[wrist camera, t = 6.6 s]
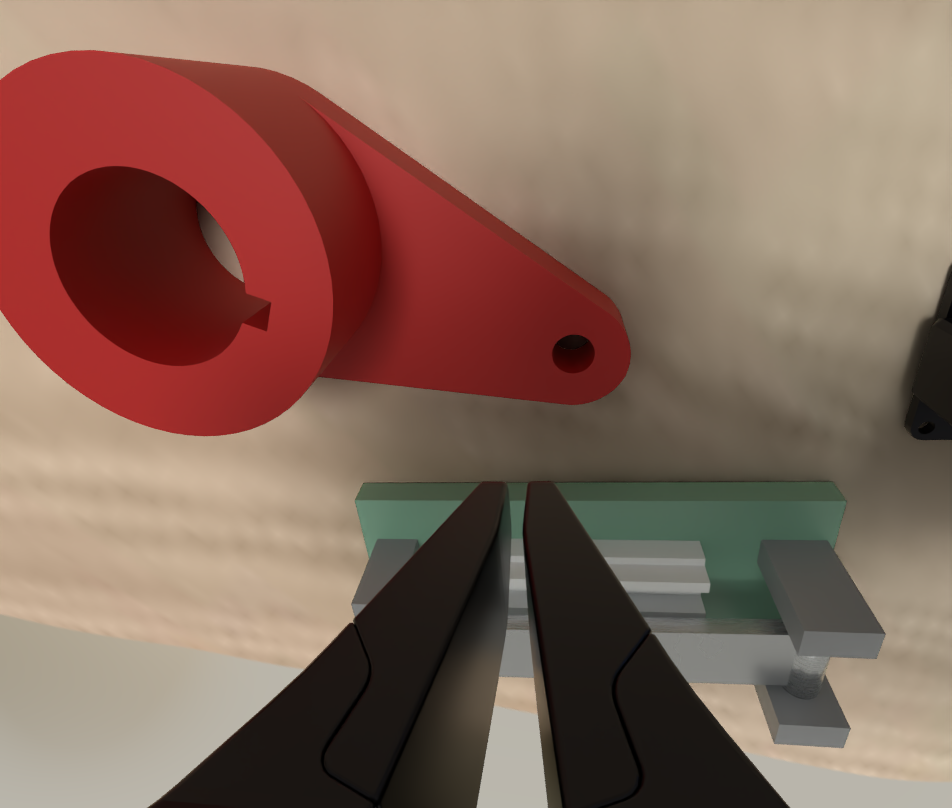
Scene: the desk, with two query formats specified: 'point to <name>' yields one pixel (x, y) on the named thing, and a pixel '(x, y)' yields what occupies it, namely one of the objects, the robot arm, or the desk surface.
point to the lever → (262, 252)
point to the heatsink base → (680, 565)
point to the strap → (706, 652)
